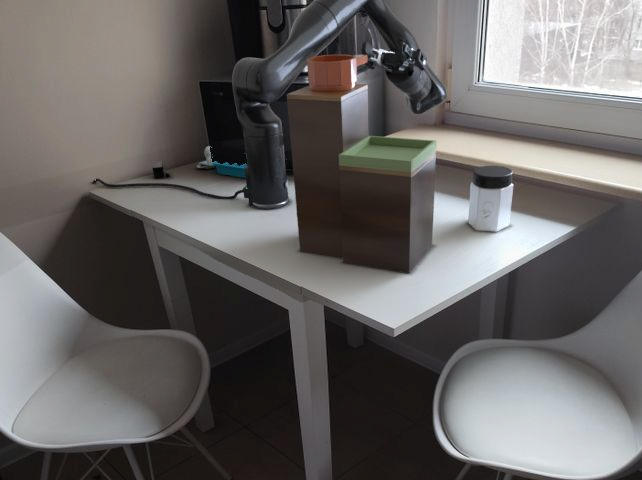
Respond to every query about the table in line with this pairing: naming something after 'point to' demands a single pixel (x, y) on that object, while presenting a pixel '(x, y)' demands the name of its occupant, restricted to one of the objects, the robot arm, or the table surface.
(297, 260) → the table surface
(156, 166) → the wireless earbuds
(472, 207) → the jar
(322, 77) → the saucepan
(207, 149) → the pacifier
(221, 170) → the ice cube tray
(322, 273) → the table surface
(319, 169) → the stand
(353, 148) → the tray
